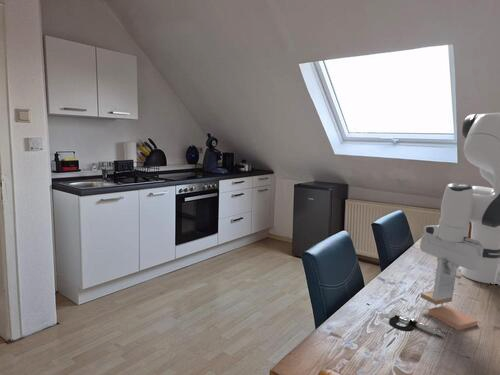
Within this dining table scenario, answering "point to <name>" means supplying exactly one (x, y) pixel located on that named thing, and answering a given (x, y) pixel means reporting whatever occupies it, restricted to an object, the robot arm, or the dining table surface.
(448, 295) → the bookend
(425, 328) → the micrometer
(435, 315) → the tile
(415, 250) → the dining table surface
